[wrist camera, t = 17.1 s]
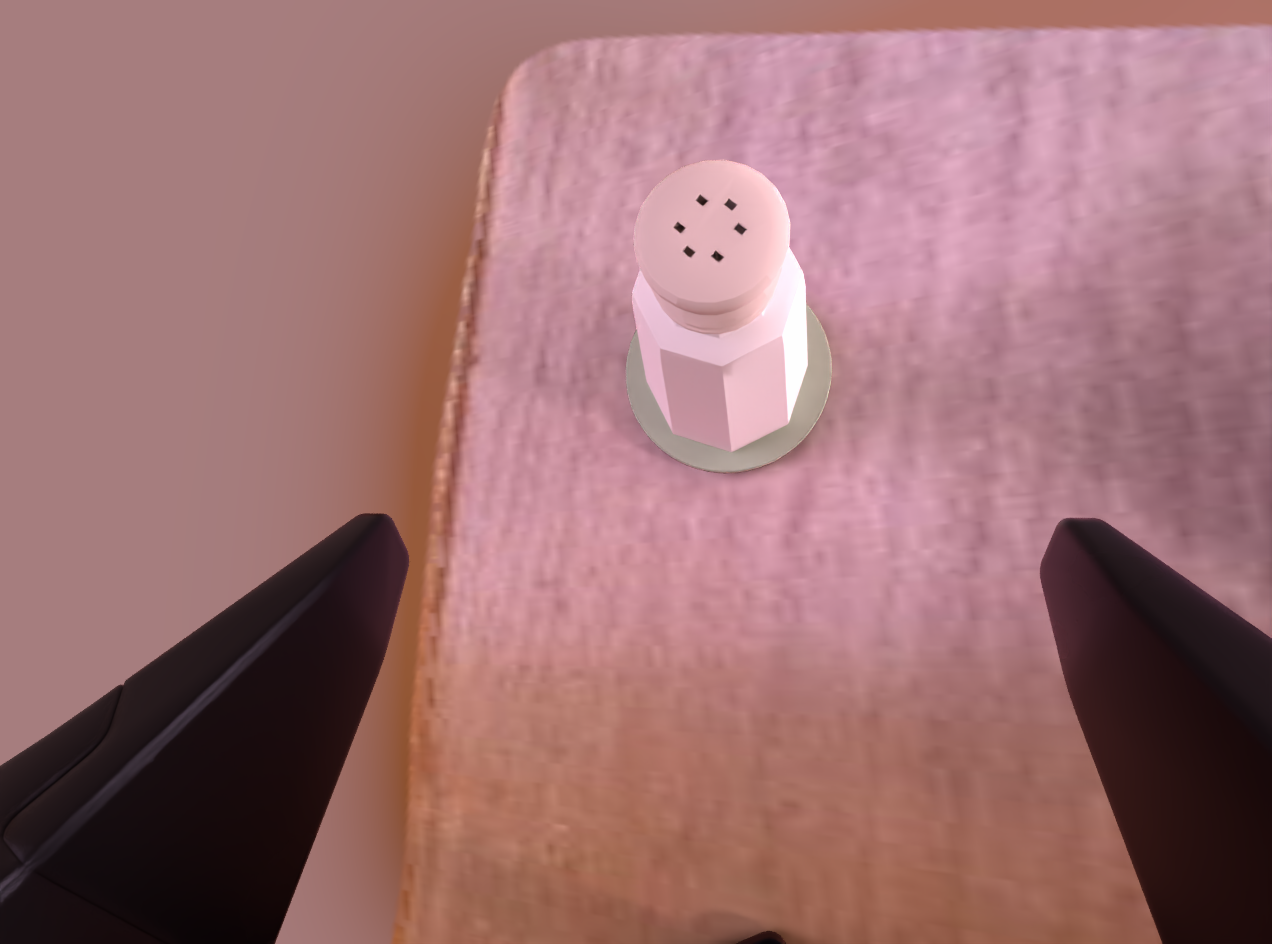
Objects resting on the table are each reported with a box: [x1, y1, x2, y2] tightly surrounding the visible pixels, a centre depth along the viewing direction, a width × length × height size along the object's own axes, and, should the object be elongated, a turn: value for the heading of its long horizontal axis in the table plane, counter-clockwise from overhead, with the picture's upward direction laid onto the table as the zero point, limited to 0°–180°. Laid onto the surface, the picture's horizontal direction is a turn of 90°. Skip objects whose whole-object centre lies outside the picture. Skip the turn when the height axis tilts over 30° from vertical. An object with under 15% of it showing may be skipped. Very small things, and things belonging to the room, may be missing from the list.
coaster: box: [626, 304, 832, 473], centre depth 23 cm, size 7×7×1 cm
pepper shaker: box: [632, 160, 808, 453], centre depth 17 cm, size 5×5×11 cm
